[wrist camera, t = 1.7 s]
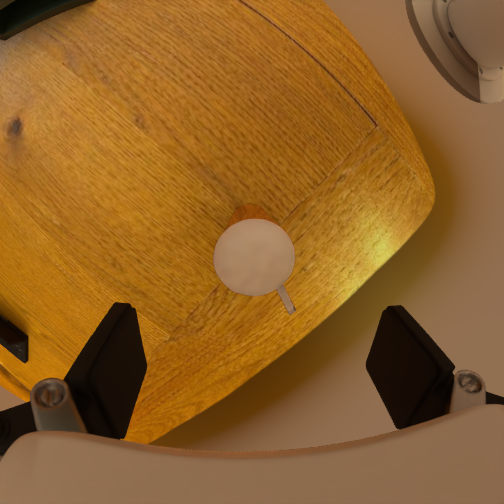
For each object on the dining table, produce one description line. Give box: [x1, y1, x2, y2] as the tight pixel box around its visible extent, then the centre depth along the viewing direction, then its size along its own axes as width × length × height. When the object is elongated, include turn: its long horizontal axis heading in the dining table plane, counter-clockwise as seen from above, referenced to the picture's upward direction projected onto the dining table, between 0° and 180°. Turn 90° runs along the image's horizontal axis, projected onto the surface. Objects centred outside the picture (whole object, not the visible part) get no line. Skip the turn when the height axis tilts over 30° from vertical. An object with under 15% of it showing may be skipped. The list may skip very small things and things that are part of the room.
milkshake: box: [213, 203, 296, 315], centre depth 19 cm, size 5×5×10 cm
